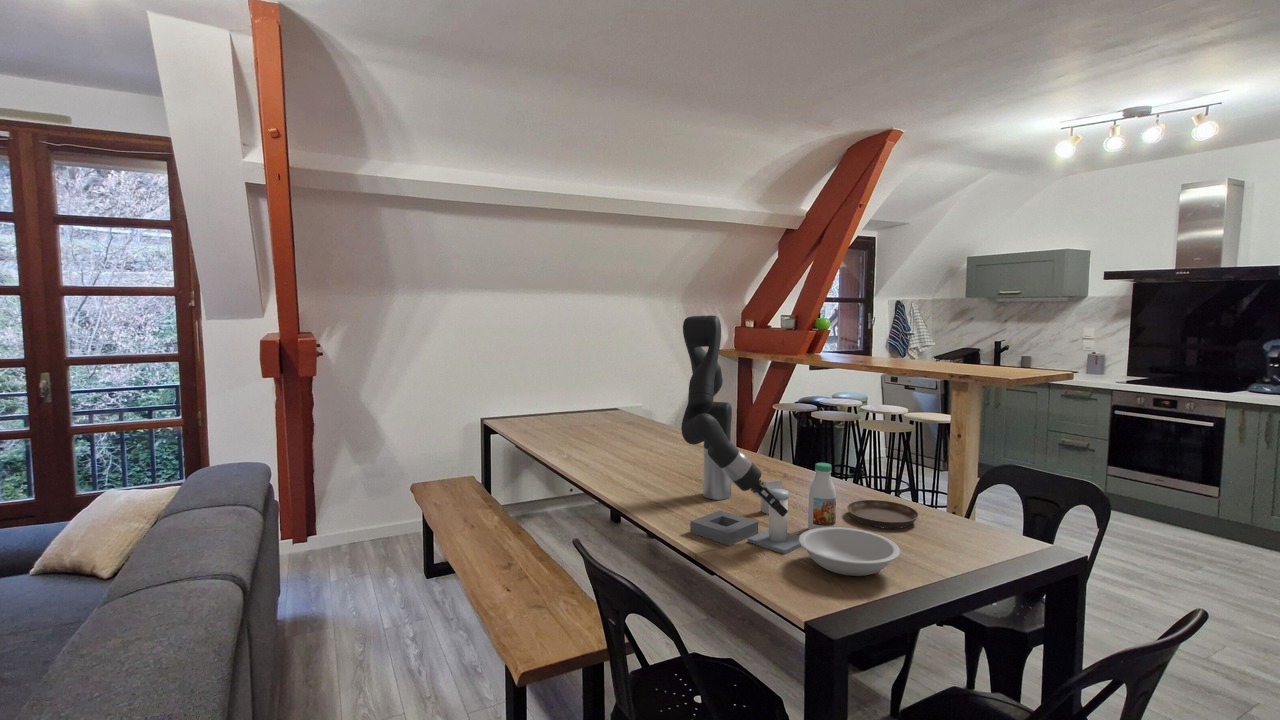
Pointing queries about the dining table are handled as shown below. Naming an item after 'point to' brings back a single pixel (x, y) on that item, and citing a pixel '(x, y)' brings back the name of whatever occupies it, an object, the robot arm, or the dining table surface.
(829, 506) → the milk bottle
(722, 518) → the housing
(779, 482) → the white paper packet
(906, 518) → the plant saucer
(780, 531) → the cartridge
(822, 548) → the soup bowl
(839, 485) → the dining table surface
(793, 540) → the mat
